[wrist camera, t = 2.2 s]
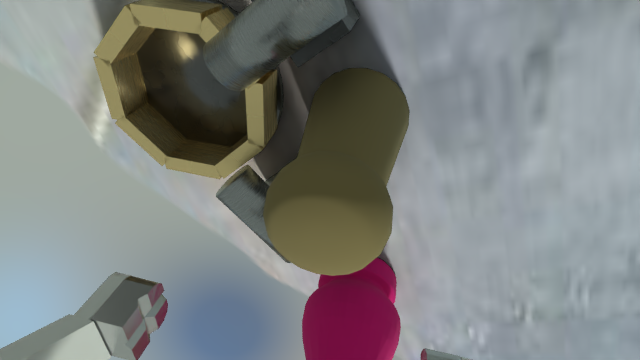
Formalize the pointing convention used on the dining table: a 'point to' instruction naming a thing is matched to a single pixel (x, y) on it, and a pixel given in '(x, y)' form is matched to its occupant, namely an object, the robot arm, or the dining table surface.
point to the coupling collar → (183, 88)
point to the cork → (340, 176)
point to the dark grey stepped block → (275, 37)
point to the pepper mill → (353, 316)
